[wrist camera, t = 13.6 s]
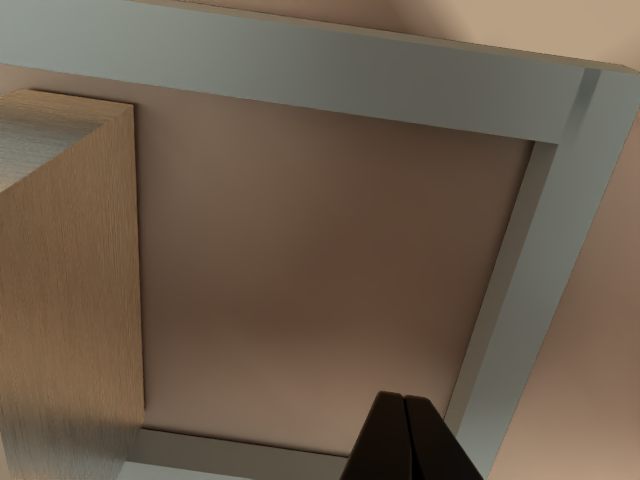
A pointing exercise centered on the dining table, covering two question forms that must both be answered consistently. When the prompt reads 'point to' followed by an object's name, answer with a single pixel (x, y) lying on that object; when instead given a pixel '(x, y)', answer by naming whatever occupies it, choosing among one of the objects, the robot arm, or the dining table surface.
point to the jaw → (68, 288)
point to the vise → (386, 103)
